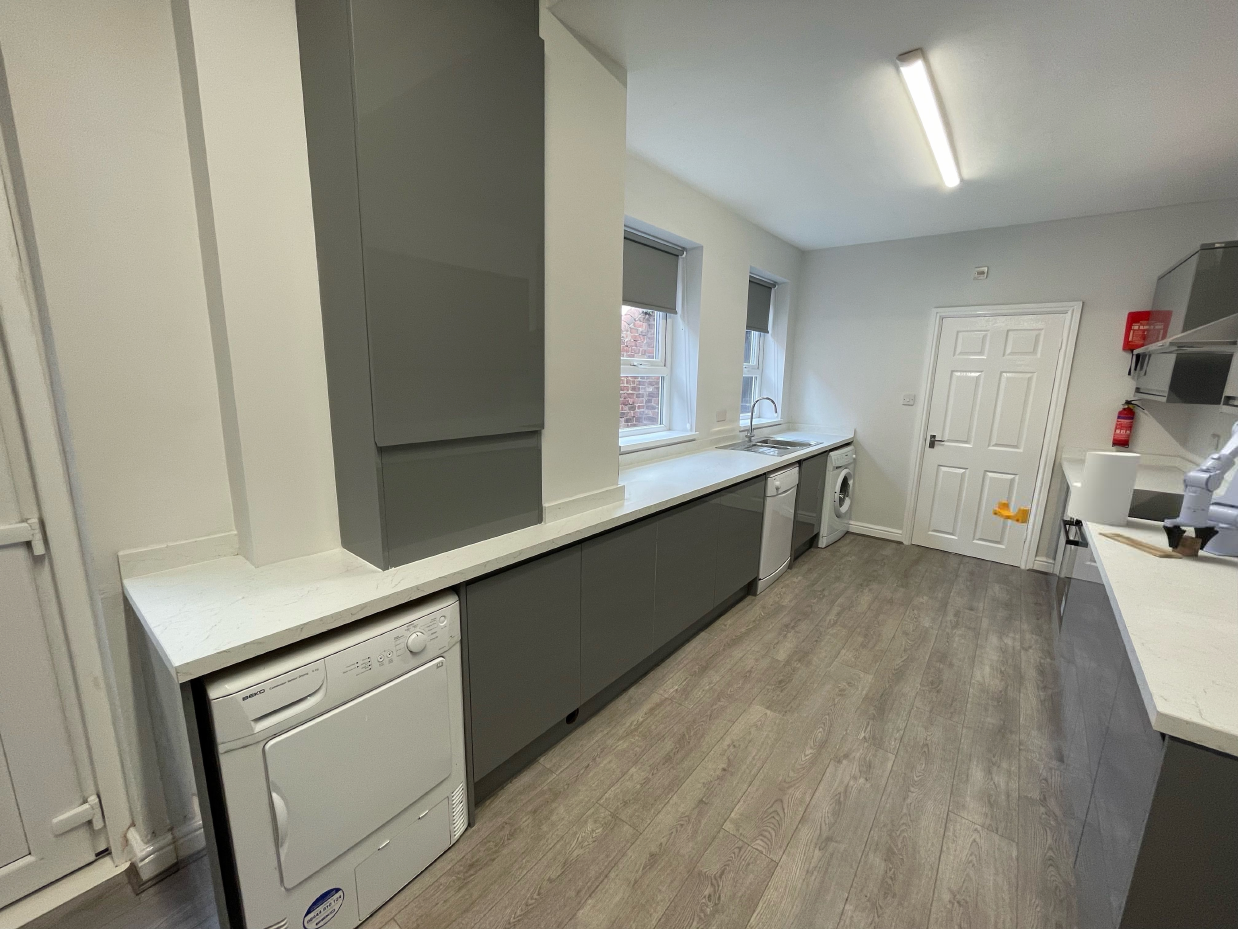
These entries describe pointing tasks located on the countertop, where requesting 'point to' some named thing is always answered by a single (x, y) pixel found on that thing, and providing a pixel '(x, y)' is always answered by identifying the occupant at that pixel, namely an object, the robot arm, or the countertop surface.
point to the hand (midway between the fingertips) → (1185, 548)
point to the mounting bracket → (1005, 513)
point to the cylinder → (1105, 488)
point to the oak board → (1142, 545)
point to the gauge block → (1188, 546)
